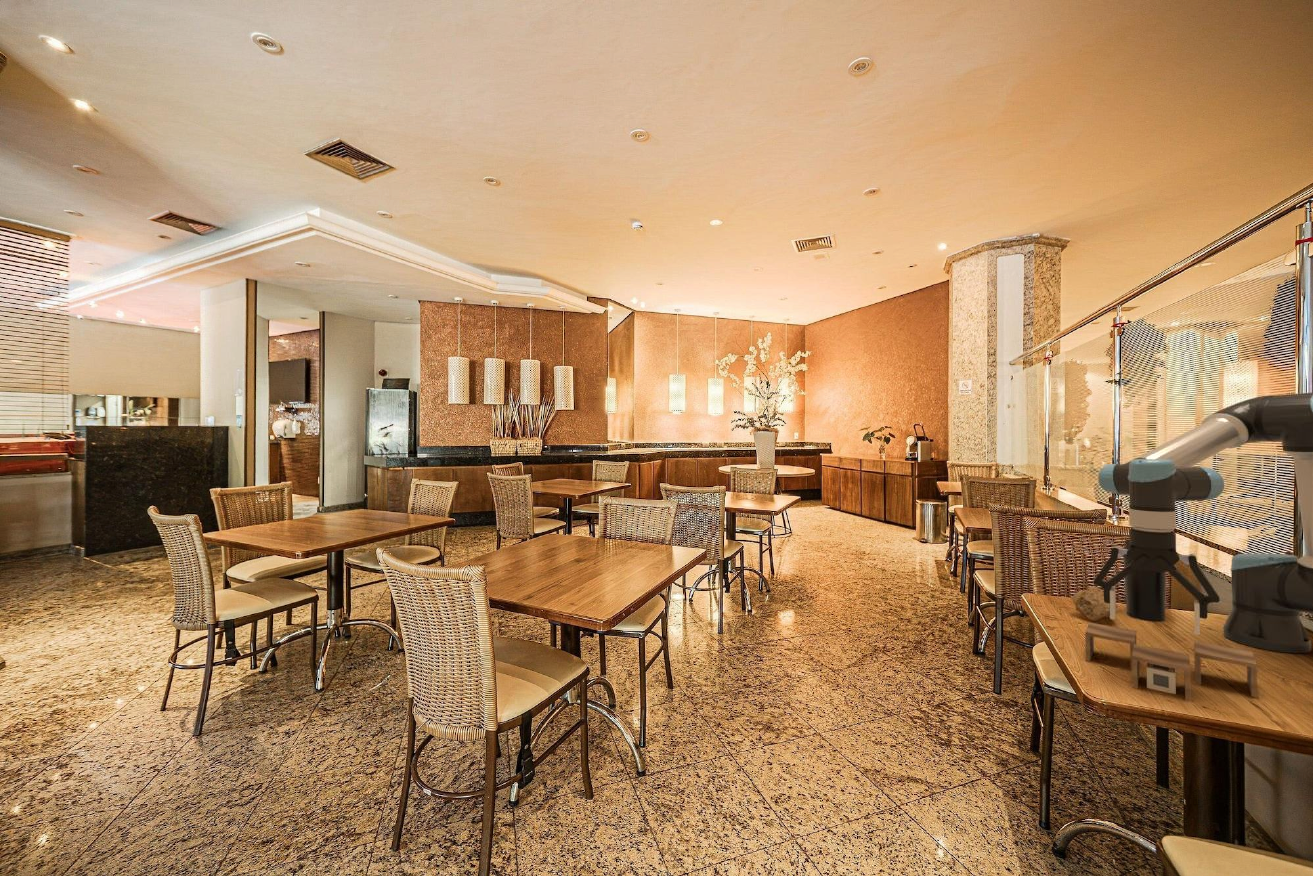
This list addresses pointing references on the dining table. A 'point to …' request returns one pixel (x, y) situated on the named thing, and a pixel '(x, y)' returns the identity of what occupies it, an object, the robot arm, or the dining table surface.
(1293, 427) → the robot arm
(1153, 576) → the water bottle
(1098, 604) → the rock
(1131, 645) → the cover
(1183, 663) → the cover
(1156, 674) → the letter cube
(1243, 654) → the cover
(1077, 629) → the dining table surface
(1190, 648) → the dining table surface
